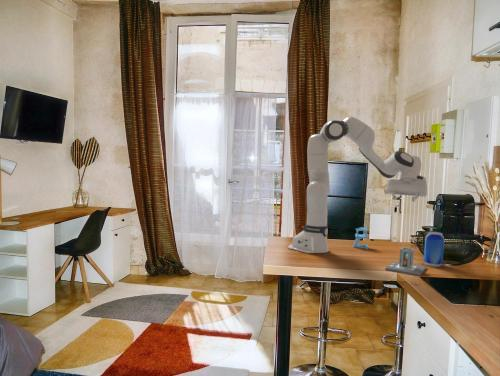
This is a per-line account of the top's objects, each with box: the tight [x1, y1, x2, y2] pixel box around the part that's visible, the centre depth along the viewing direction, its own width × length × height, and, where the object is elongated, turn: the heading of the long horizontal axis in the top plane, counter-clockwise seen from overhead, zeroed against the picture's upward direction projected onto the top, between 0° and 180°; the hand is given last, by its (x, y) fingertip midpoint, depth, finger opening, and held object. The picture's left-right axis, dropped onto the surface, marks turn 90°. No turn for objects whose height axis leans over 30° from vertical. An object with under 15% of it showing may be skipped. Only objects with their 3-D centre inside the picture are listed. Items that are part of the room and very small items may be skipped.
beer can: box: [423, 231, 445, 268], centre depth 193 cm, size 8×8×16 cm
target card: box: [385, 260, 427, 277], centre depth 183 cm, size 15×16×1 cm
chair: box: [352, 226, 369, 250], centre depth 228 cm, size 8×8×12 cm
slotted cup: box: [398, 247, 415, 269], centre depth 183 cm, size 5×5×8 cm
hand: (403, 199), depth 200 cm, fingers open, 8 cm apart
